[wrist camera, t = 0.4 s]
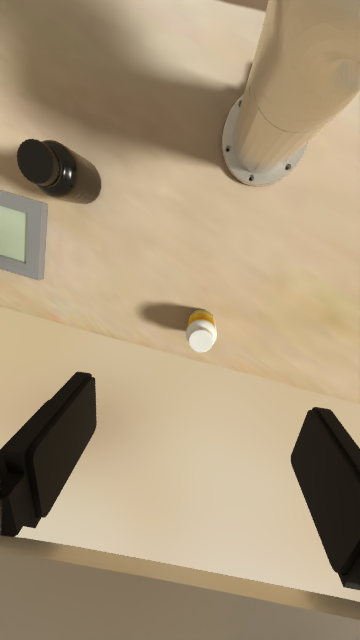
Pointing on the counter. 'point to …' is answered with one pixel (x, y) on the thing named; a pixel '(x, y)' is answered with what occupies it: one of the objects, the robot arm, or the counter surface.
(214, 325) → the supplement bottle
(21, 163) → the supplement bottle
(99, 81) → the counter surface
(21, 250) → the picture frame
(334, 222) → the counter surface
